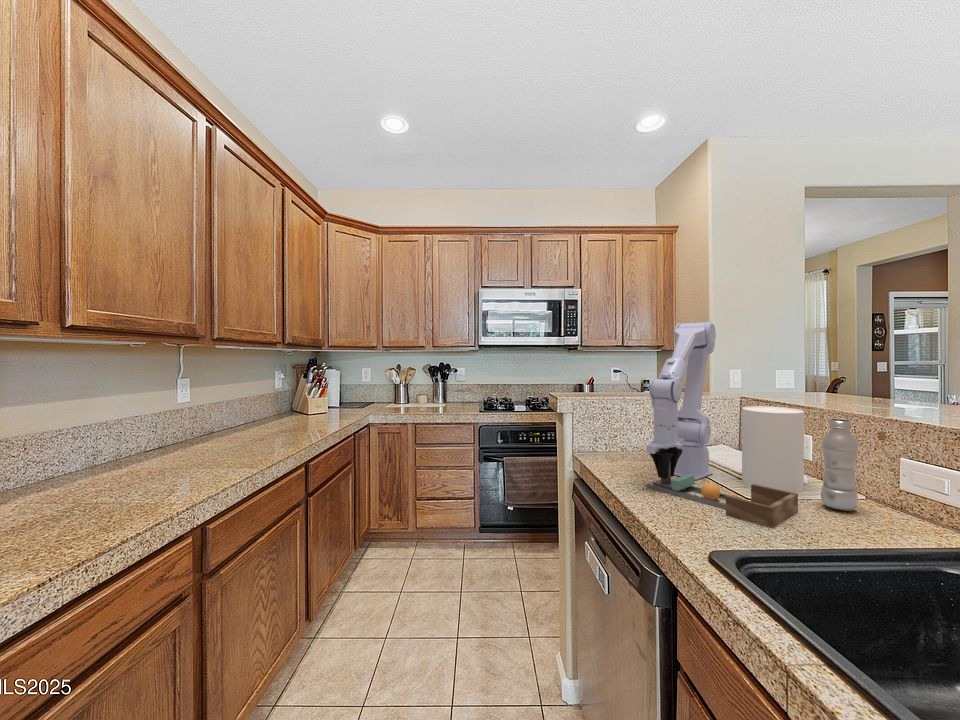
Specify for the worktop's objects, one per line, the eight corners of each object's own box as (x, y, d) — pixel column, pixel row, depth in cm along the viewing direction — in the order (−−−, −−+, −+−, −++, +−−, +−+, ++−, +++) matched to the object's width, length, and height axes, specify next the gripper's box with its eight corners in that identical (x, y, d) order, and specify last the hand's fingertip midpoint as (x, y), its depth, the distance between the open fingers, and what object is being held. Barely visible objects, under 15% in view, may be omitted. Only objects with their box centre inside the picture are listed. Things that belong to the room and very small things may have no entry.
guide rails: (662, 482, 117) (662, 478, 117) (742, 502, 101) (742, 498, 101) (647, 487, 113) (646, 483, 113) (727, 509, 97) (727, 505, 97)
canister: (760, 474, 123) (760, 405, 123) (814, 487, 111) (815, 410, 111) (731, 481, 117) (731, 408, 117) (785, 496, 105) (785, 414, 105)
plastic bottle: (849, 505, 99) (850, 418, 98) (864, 516, 92) (865, 423, 92) (815, 502, 101) (816, 417, 100) (828, 512, 94) (828, 421, 94)
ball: (706, 495, 106) (706, 479, 106) (723, 500, 103) (723, 483, 103) (698, 499, 104) (698, 482, 104) (715, 503, 101) (715, 486, 101)
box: (752, 500, 102) (752, 483, 102) (797, 511, 95) (798, 493, 95) (725, 514, 94) (725, 496, 94) (772, 528, 87) (772, 508, 87)
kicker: (666, 481, 117) (666, 457, 116) (694, 488, 111) (694, 462, 110) (650, 487, 112) (650, 462, 112) (677, 495, 106) (677, 468, 106)
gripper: (664, 430, 105) (664, 485, 105) (695, 423, 113) (695, 475, 114) (638, 426, 110) (639, 479, 111) (669, 420, 119) (669, 469, 119)
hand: (665, 476), depth 113 cm, fingers closed on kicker, 2 cm apart
